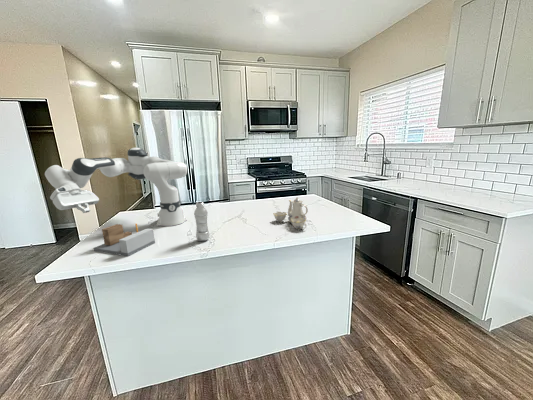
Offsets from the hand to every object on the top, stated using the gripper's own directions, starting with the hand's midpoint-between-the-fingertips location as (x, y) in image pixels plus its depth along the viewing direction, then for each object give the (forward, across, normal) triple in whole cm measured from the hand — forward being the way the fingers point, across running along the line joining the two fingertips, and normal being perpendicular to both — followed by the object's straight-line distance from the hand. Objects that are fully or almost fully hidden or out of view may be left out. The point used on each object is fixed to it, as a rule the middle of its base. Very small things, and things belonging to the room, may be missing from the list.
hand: (87, 211), depth 125 cm
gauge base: (+28, +1, +6) cm, 28 cm away
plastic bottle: (+50, -13, +32) cm, 61 cm away
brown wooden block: (+22, -2, +2) cm, 22 cm away
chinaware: (+77, -47, +64) cm, 111 cm away
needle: (+28, -5, +9) cm, 30 cm away
